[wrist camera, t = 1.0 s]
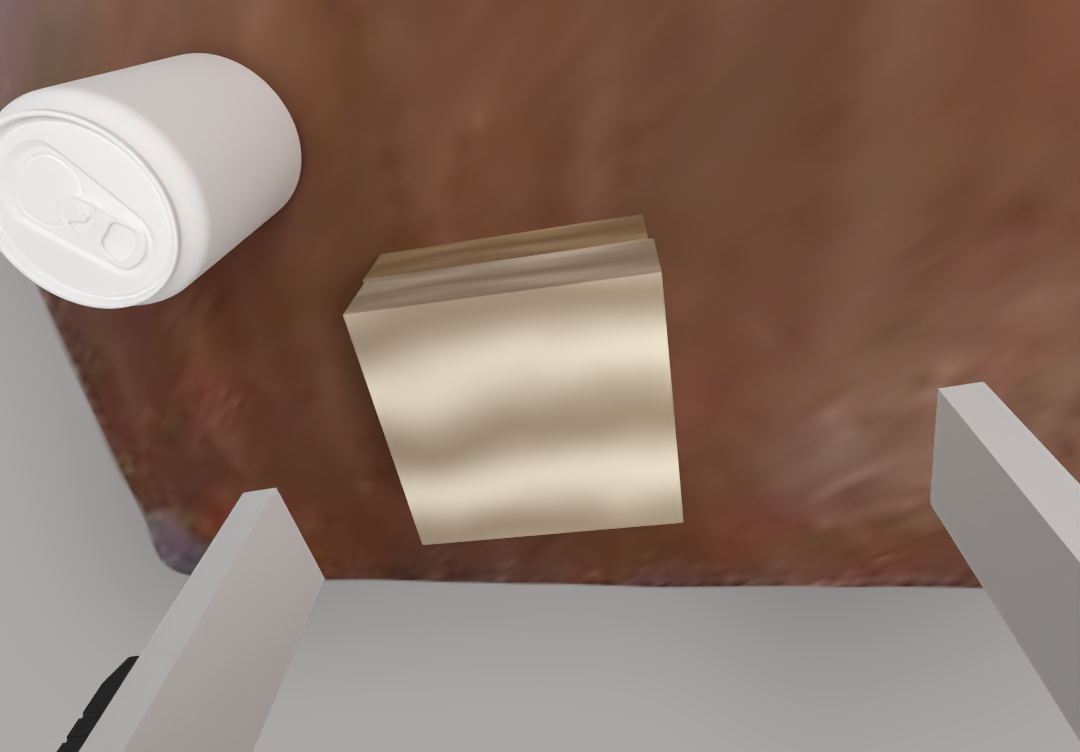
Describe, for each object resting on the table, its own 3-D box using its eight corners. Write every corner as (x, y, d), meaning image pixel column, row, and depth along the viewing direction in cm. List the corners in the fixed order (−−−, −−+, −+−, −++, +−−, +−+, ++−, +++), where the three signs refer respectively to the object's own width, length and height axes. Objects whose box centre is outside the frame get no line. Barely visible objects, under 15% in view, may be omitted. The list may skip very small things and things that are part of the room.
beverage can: (184, 11, 32) (-6, 37, 22) (336, 130, 34) (230, 204, 24) (117, 149, 35) (-74, 229, 25) (259, 249, 38) (138, 358, 27)
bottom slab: (382, 251, 38) (362, 280, 34) (641, 211, 36) (647, 238, 32) (445, 456, 45) (433, 497, 41) (664, 431, 43) (672, 472, 39)
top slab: (367, 278, 34) (342, 314, 31) (653, 238, 32) (661, 272, 29) (436, 496, 41) (422, 545, 38) (674, 473, 39) (683, 522, 36)
